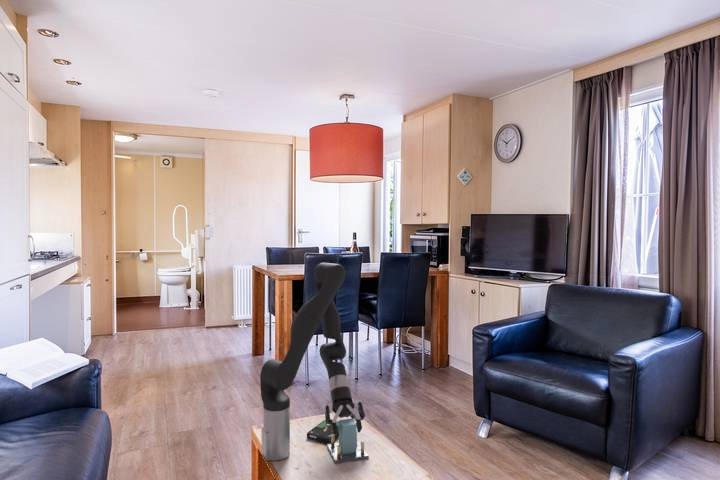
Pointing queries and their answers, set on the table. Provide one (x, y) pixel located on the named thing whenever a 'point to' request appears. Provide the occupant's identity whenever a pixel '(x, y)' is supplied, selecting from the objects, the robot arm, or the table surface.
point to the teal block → (347, 435)
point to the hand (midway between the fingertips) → (348, 433)
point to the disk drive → (323, 432)
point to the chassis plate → (339, 457)
